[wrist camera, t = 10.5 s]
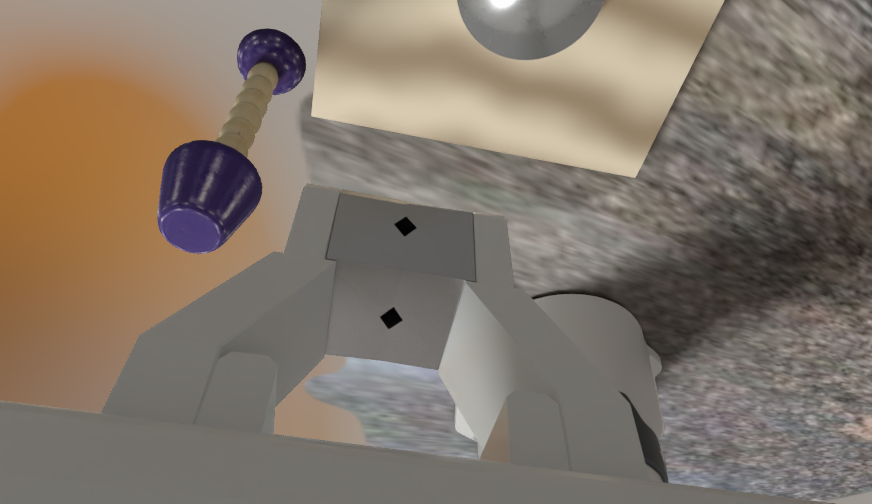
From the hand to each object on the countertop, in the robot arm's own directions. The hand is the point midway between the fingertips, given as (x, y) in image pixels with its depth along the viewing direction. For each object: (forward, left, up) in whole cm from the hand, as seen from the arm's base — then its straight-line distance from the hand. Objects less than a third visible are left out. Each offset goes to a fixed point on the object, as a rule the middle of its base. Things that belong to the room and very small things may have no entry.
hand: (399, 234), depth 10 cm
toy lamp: (-14, +8, -31) cm, 35 cm away
